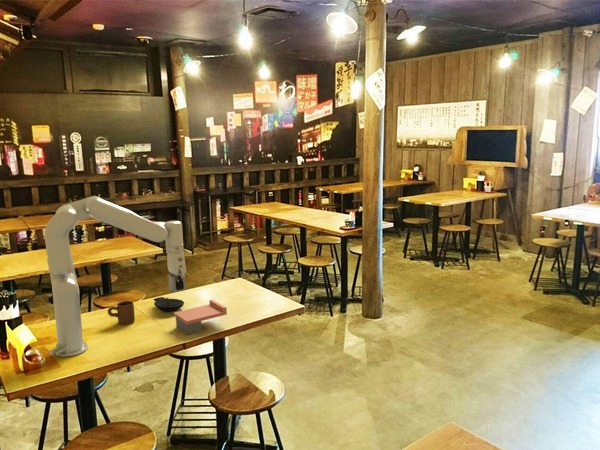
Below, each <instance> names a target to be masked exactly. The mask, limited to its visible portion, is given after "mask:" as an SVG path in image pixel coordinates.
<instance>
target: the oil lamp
mask: <svg viewBox="0 0 600 450" xmlns="http://www.w3.org/2000/svg"><path fill="white" fill-rule="evenodd" d="M153 301H154V302H153V305H154V307H156V309H158V310H159V311H160V312H162V313H169V314H171V313H174V312H178V311H180V309H181V308H182V307H183V306H184V305H185V301H184V300H182V299H178V298H169V297H163V296H160V297H156V298H154V299H153Z"/></svg>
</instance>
